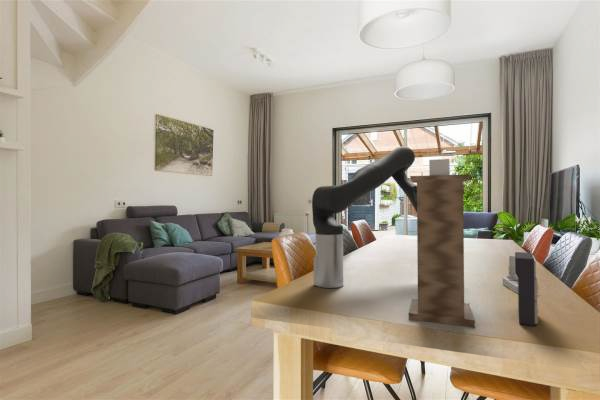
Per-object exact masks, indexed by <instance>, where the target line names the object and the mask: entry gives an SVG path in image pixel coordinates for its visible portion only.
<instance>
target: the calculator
mask: <svg viewBox="0 0 600 400" xmlns="http://www.w3.org/2000/svg"><path fill="white" fill-rule="evenodd" d="M514 257H515V273H516V275H517V277H518V294H517V297H518V298H517V302H518V303H517V305H518V307H517V309H518V311H517V313H518V324H519V325H525V326H530V327H531V326H532V327H535V326H536V324H539V323H538V322H539V318H538V314H539V310H538V309H539V308H538V305H539V304H538V294H539V282H538V279H537V260H536V258H535V255H533V253H532V252H522V251H521V252H520V251H515V252H514Z"/></svg>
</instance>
